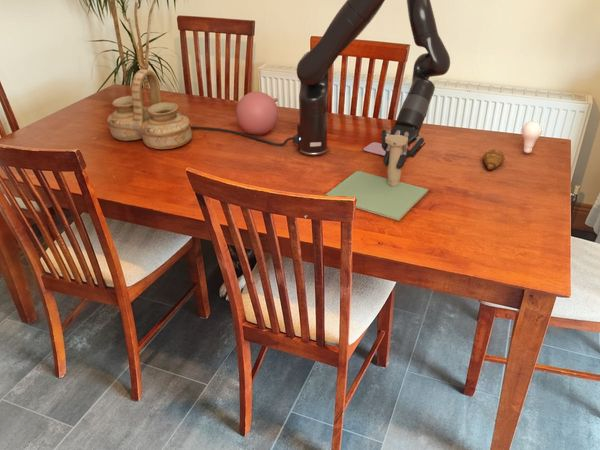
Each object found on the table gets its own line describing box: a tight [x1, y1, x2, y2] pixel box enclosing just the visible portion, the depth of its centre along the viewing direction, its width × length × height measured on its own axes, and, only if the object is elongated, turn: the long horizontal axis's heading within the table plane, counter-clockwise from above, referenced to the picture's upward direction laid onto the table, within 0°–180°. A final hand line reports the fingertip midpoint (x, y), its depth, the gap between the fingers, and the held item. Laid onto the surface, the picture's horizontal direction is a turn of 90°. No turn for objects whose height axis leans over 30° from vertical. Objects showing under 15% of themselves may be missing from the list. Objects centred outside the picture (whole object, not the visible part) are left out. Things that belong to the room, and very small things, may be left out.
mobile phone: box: [363, 141, 403, 157], centre depth 186 cm, size 8×1×15 cm
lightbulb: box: [521, 120, 543, 154], centre depth 181 cm, size 6×6×11 cm
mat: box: [324, 170, 429, 222], centre depth 161 cm, size 24×20×1 cm
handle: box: [385, 134, 408, 187], centre depth 161 cm, size 5×6×15 cm
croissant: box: [482, 148, 506, 171], centre depth 176 cm, size 14×7×5 cm, turn 155°
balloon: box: [235, 91, 279, 136], centre depth 201 cm, size 15×20×15 cm
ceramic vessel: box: [106, 68, 193, 150], centre depth 195 cm, size 34×18×25 cm, turn 61°
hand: (391, 166), depth 159 cm, fingers closed on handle, 3 cm apart
